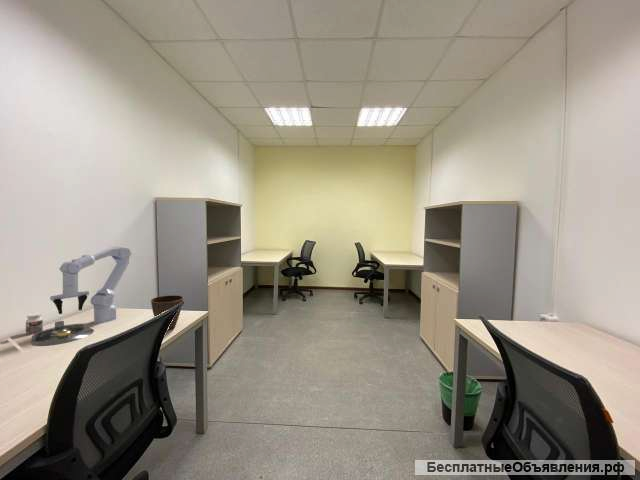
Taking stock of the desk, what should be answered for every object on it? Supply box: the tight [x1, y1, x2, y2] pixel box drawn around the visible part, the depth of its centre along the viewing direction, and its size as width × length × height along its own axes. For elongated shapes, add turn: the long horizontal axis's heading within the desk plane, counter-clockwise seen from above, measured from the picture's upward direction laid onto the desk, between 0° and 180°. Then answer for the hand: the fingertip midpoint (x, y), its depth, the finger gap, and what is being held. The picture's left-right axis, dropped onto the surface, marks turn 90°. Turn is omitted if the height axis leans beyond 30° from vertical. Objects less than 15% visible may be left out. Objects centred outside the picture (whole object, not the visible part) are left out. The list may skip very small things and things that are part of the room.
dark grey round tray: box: [30, 322, 95, 347], centre depth 129 cm, size 22×22×3 cm
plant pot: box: [150, 294, 184, 331], centre depth 144 cm, size 15×15×16 cm
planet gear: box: [52, 320, 67, 335], centre depth 132 cm, size 6×6×6 cm
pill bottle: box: [25, 312, 44, 336], centre depth 133 cm, size 6×6×10 cm
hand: (70, 311), depth 136 cm, fingers open, 7 cm apart
